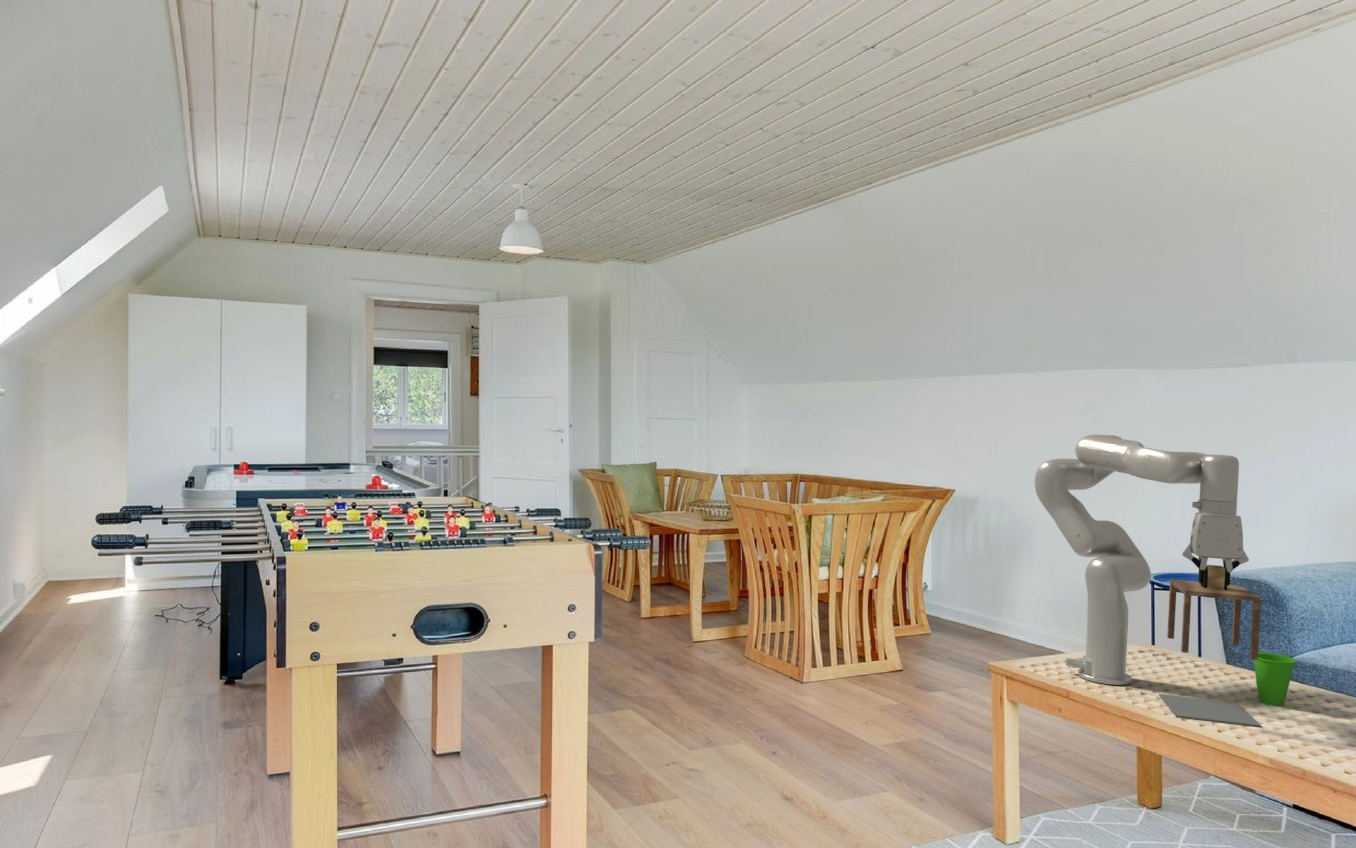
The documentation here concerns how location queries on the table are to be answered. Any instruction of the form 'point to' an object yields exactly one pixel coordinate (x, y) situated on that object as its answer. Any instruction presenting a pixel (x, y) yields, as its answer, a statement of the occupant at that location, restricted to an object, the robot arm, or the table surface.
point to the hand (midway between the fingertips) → (1213, 586)
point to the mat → (1208, 710)
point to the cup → (1273, 677)
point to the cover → (1217, 591)
